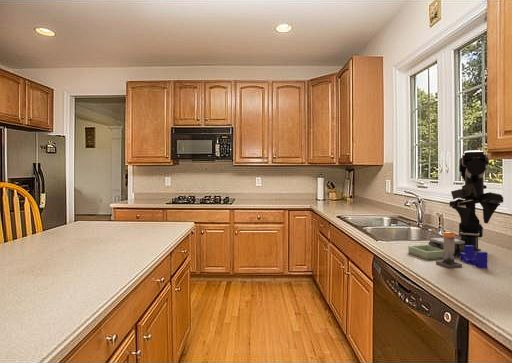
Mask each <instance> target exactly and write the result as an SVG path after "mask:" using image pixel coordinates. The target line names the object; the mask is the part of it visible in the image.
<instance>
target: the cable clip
mask: <svg viewBox="0 0 512 363" xmlns="http://www.w3.org/2000/svg"><path fill="white" fill-rule="evenodd" d="M488 256H489V255H488V252H487V251H482V250H479V251H474V246H473V245H464V253H462V252H460V255H459V260H461V261H462V262H464V263H465V264H469V263H470V265H473V266H474V267H476V268H478V269H488V258H489V257H488Z"/></svg>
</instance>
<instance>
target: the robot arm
mask: <svg viewBox="0 0 512 363" xmlns="http://www.w3.org/2000/svg"><path fill="white" fill-rule="evenodd" d="M458 164H459V165H458V172H459V173H460V177H461V178H462V179H463V181H464V184H463V185H462V186H461V188H460V189H459V188H458V189H455V190H451V191H450V192H451V196H452V199H451V200H449V207H450V208H452V209H453V210H455V211H456V212H457V213H458V215H459V217H460V222H458V237H460V239H459V240H463V241H465V243H463V244H464V245H473V246H474V251H475V252H477V251H482V249H481V248H479V238H482V237H483V231H484V227H483V225H482V223H480V219H479V217H478V216H477V214H476V204H480V206H481V207H482V217H483V223H484V224H489V221H490V219H491V218H492V216H493V214H494V213H495V211H496V210H497V208H498V207H499V206H501V203H503V204H504V196H503V195H502V194H500V193H495V192H492V191H491V192H484V191H485V189H487V185H485V184H484V176H485V172H486V169H487V166H488V165H489V164H490V160H489V157H488V156H487V153H485V152H484V150H466V151H464V154H462V156H461V157H460V158H459V163H458Z"/></svg>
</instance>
